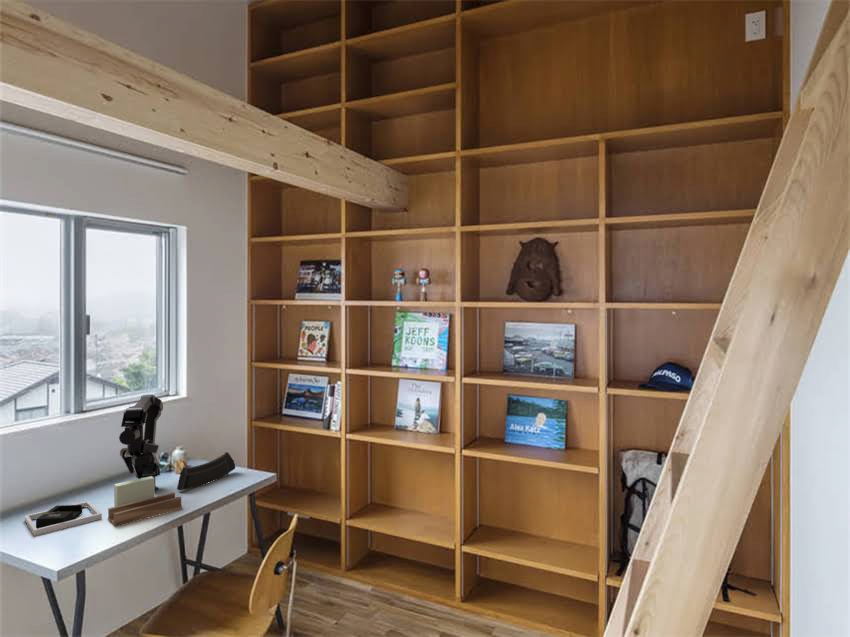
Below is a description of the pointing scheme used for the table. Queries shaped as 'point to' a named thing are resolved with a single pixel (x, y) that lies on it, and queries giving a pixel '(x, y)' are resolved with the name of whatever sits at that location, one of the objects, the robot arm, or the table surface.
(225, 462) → the magazine
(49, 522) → the battery charger
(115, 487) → the green book
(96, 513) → the grey frame
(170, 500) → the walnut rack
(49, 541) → the table surface
